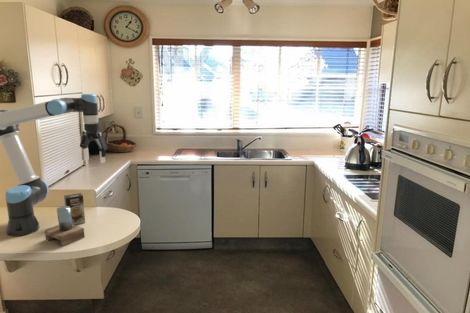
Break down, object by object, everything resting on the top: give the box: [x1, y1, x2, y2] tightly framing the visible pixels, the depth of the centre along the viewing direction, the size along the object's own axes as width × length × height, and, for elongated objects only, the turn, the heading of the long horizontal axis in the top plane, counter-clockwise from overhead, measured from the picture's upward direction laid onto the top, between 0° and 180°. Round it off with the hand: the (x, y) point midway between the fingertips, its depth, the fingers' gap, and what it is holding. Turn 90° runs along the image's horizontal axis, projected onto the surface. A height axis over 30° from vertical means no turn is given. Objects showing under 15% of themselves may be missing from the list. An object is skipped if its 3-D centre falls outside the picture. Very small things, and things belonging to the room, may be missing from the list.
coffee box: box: [63, 192, 86, 226], centre depth 199 cm, size 9×6×16 cm
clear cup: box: [56, 205, 73, 231], centre depth 179 cm, size 6×6×11 cm
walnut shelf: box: [44, 225, 85, 247], centre depth 180 cm, size 14×12×5 cm
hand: (94, 161), depth 197 cm, fingers open, 13 cm apart
